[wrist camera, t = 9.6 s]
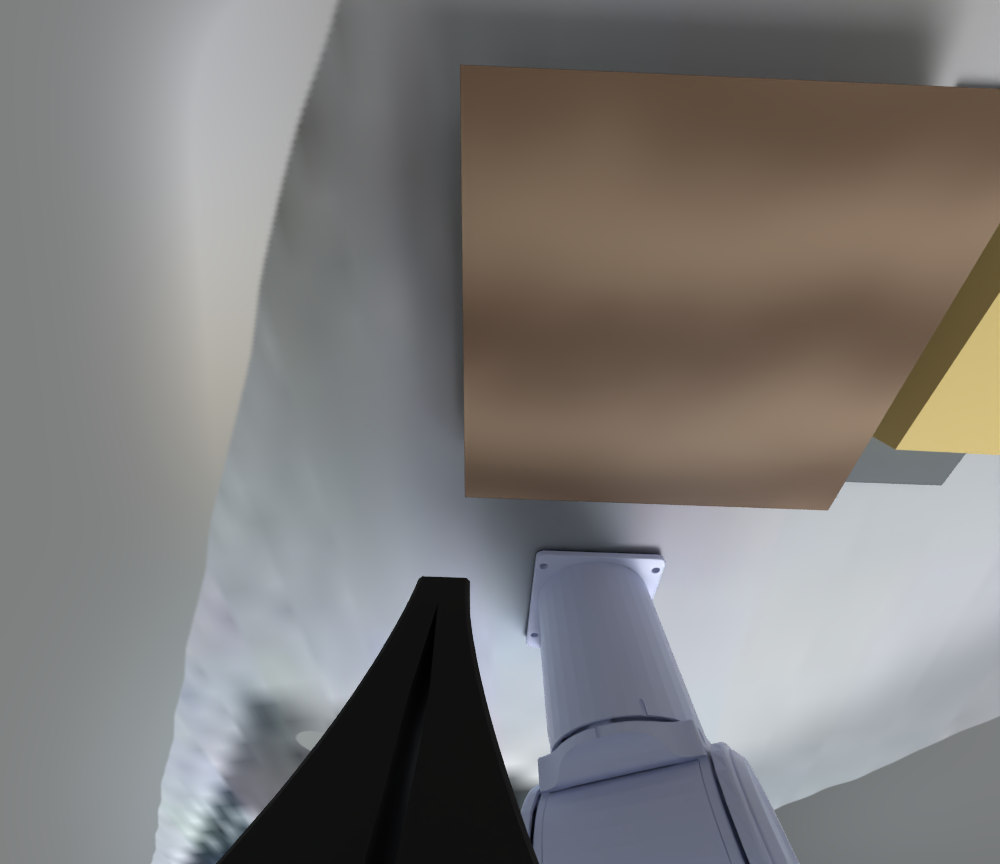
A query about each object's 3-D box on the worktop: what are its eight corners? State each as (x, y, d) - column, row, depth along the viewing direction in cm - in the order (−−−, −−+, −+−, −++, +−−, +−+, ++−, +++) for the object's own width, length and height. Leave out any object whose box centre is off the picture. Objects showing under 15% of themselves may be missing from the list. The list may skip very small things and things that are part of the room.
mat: (936, 482, 20) (941, 485, 20) (773, 475, 20) (776, 479, 20) (1217, 103, 13) (1232, 100, 12) (956, 91, 13) (966, 88, 12)
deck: (771, 460, 20) (827, 510, 16) (472, 449, 20) (465, 497, 16) (924, 128, 13) (1077, 92, 10) (472, 108, 13) (460, 64, 10)
